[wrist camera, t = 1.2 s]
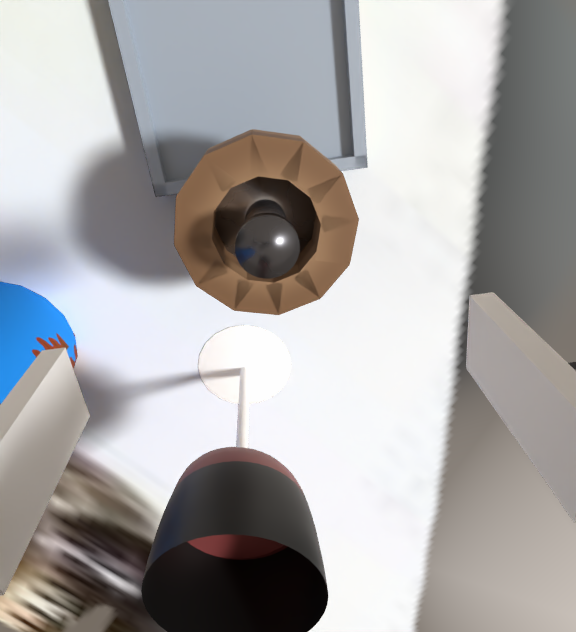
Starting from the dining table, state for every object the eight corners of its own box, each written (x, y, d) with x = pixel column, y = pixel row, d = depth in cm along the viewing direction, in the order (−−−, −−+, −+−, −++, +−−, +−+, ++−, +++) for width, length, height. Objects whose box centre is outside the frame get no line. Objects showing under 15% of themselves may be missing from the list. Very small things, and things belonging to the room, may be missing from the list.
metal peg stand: (193, 206, 35) (168, 262, 25) (252, 121, 33) (251, 144, 23) (273, 263, 37) (280, 335, 27) (334, 186, 35) (366, 234, 25)
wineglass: (226, 302, 38) (201, 506, 21) (316, 357, 41) (364, 581, 23) (172, 375, 41) (108, 613, 23) (260, 423, 44) (264, 670, 26)
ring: (148, 235, 30) (140, 249, 28) (246, 91, 27) (245, 94, 24) (280, 323, 33) (282, 342, 31) (382, 203, 30) (392, 214, 27)
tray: (159, 191, 35) (155, 196, 33) (66, -202, 26) (55, -217, 24) (362, 163, 34) (367, 167, 33) (339, -241, 26) (344, -259, 24)
